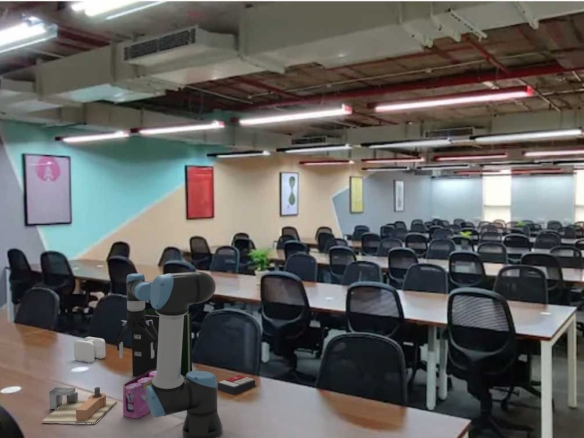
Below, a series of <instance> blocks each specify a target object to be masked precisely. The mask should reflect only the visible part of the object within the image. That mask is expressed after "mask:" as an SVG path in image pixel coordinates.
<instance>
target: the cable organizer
mask: <svg viewBox="0 0 584 438" xmlns="http://www.w3.org/2000/svg"><path fill="white" fill-rule="evenodd" d="M73 357H74V359H75V360H76V361H77V362H81V363H82V362H85V363H89V364H91V363H93V362H94V361H95V358H96V359H99V360H101V359H103V358H105V357H106V341H105V339H104V338H101V337H93V336H87V337H84V340H80V339H77V340H74V342H73Z"/></svg>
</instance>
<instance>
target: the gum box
mask: <svg viewBox="0 0 584 438" xmlns="http://www.w3.org/2000/svg"><path fill="white" fill-rule="evenodd" d="M156 373H157V369H153V370H151V371H149V372H147V373H145V374H143V375H141V376H139V377H134V378H133V379H132V380H129V381H127V382H126V383H123V390H122V392H123V393H122V395H123V396H122V398H123V399H122V401H123V402H122V403H123V404H122V410H123V411H122V412H123V413H122V415H123V417H124V418H125V417H127V418H131V419H136V420H139V418H141V417H143V415H144V416H145V415H147V414H148V413H151V412H150V410H149V407H148V403H147V399H146V387H147V386H148V385H152V378H153V377H154V376H155V375H156Z"/></svg>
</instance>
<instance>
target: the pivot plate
mask: <svg viewBox="0 0 584 438" xmlns="http://www.w3.org/2000/svg"><path fill="white" fill-rule="evenodd" d="M93 390H94V394H95V398H98V397H100V393H101V387H100V386H97V387H94V389H93ZM87 400H88V399H78V402H76V403H67V401H66V402H63V403H62V405H61V406H60V407H59V408H58V409H56V410H53V411H52V412H51V413H49V415H47V416H46V417H44V419H42V420H41V422H42V421H47V422H48V421H49V422H75V423H85V424H87V423H91V424H92V423H93V424H95V423H96V422H97V421H98V420H99V419H100V418H101V419H102V418H104V416H106V414H107V413H109V412H110V411H111V410H112V408H115V406H116V405H117V403H118V402H117V400H106V405H105V406H103V407H100V408H99V409H98V410H97V411H96V412H95V413H94V414H93V415H91V416H90V417H89V418H88V419H87V420H76V409H78V408H79V407H80V406H81V405H82V404H84V403H85V402H86V401H87ZM101 419H100V420H101ZM100 420H99V421H100ZM99 421H98V422H99ZM98 422H97V423H98ZM97 423H96V424H97ZM96 424H95V425H96Z"/></svg>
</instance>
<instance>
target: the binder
mask: <svg viewBox="0 0 584 438" xmlns="http://www.w3.org/2000/svg"><path fill="white" fill-rule="evenodd" d="M145 319H146V321H149V320H153V325H154V327H155V329H156V330H157V332H158V334H159V315H158V314H157V313H156V311H155V308H153V309H152V308H148V309H145ZM145 327H146V328H147V330H148V331H149V332H150V333H151V334H152V335H153V333H152V331H151V329H150V327H149V326H148V324H146V325H145ZM192 327H193V326H192V312H188V313H187V314H185V315H184V322H183V339H182V355H181V371H180V374H181V375H182V376H183V377H184V376H186V374H187V373H188V372H191V371H193V334H192V329H193V328H192ZM153 336H154V335H153ZM155 339H156V338H155ZM151 343H152V341H151V340H150V339H149V338H148V337H147V336H146V334H145V333H144V332H142V331H141V330H140V331H132V330H131V360H132V369H131V370H132V371H131V372H132V377H133V378H137V377H139V376H141V375H143V374H145V373H147V372H149V371H151V370H153V369H157V354H158V342H156V350H154V357H153V358H151Z"/></svg>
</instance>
